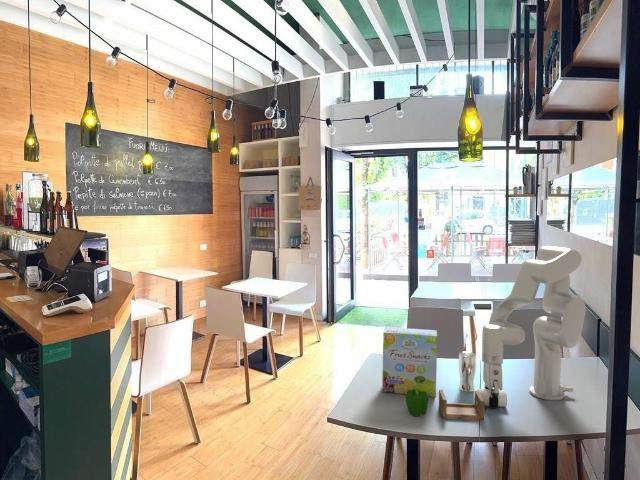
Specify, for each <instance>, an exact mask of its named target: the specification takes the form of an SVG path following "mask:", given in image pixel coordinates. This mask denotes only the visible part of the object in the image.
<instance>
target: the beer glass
mask: <svg viewBox="0 0 640 480" xmlns="http://www.w3.org/2000/svg"><path fill="white" fill-rule="evenodd" d="M457 365H458V373H459V387H458V389H459V391H461V392H464V393H473V392H475V385H474V379H475V375H476V372H477V371H476V370H477V354H476V353H473V352H470V351H460V352H459V353H458V364H457Z"/></svg>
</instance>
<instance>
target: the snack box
mask: <svg viewBox="0 0 640 480" xmlns="http://www.w3.org/2000/svg"><path fill="white" fill-rule="evenodd" d="M437 361H438V331H437V329H436V330H435V329H434V330H433V329H423V328H422V329H421V328H406V327H391V326H384V331H383V341H382V372H381V373H382V375H381V377H382V379H381V381H382V383H381V384H382V393H391V394H399V395H406V394H407V392H408V390H414V389H415V387H413V385H416V386H417V388H418V390H420V391H421V392H422V391H424V392H426V393H427V395H428V398H429V397H430V398H436V396H437V394H436V392H437V390H436V389H437V369H438V368H437V366H438V365H437V364H438V362H437Z"/></svg>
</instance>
